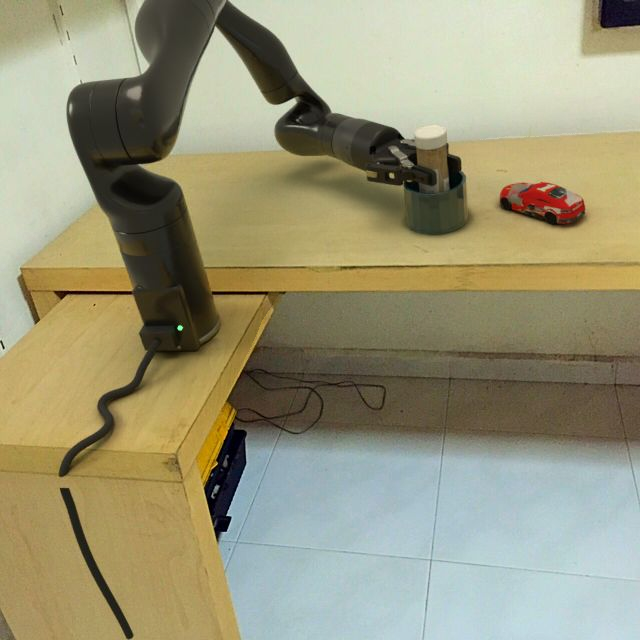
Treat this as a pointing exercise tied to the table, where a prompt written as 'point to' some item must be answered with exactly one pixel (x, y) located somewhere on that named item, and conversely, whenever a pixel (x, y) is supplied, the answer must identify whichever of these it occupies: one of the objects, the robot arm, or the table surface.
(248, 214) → the table surface
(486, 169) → the table surface
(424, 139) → the sprinkles bottle
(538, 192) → the race car
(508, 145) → the table surface
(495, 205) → the table surface
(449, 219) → the cup
